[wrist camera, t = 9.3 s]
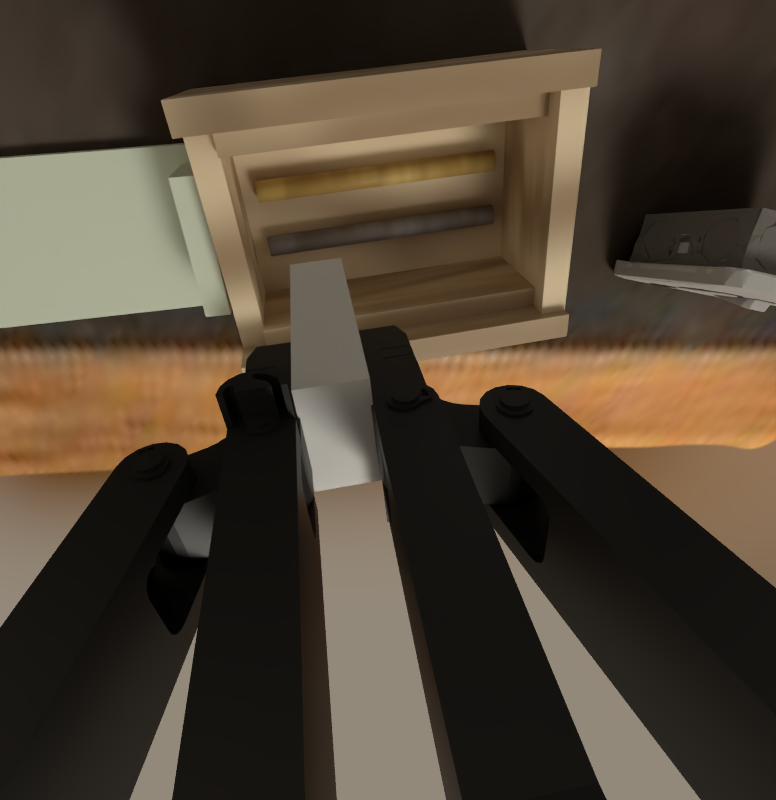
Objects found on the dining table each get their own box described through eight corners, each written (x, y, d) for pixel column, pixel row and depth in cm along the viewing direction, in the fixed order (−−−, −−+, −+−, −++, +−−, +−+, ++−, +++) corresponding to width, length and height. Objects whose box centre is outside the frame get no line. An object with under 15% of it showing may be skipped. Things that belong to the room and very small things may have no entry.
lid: (-110, 163, 23) (-183, 184, 20) (205, 140, 25) (192, 154, 21) (-22, 323, 28) (-68, 364, 24) (240, 294, 29) (234, 328, 26)
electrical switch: (603, 272, 32) (714, 322, 24) (638, 185, 30) (773, 208, 22) (719, 295, 35) (854, 347, 27) (759, 217, 32) (919, 248, 24)
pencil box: (190, 88, 23) (160, 100, 18) (527, 49, 25) (601, 48, 19) (253, 326, 30) (247, 389, 24) (514, 284, 31) (566, 336, 26)
